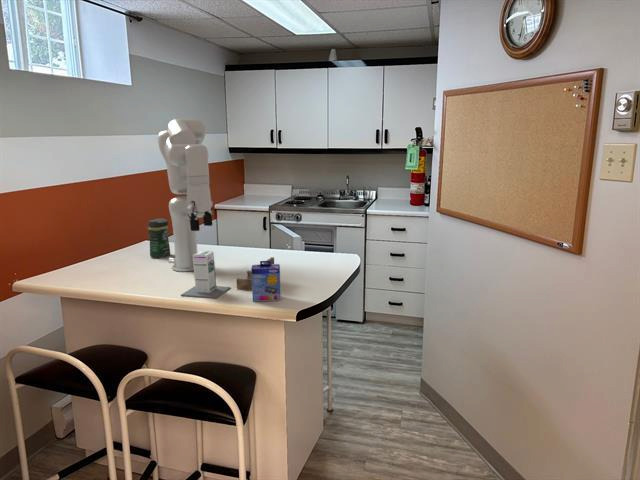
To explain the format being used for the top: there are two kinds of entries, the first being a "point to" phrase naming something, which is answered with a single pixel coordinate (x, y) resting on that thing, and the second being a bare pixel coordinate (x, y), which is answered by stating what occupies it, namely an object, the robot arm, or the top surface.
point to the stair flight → (249, 279)
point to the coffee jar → (158, 238)
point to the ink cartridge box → (266, 282)
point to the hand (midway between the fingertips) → (201, 228)
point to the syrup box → (204, 272)
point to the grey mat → (213, 294)
